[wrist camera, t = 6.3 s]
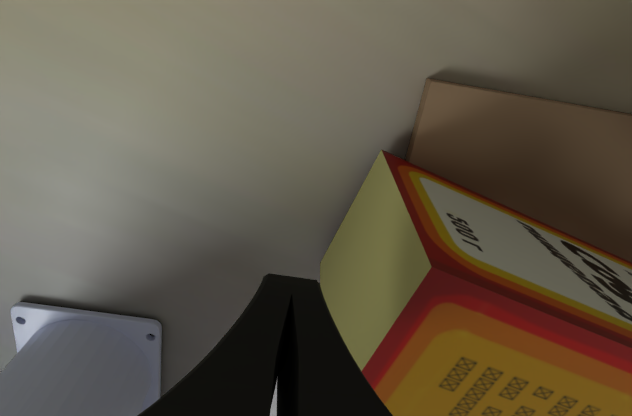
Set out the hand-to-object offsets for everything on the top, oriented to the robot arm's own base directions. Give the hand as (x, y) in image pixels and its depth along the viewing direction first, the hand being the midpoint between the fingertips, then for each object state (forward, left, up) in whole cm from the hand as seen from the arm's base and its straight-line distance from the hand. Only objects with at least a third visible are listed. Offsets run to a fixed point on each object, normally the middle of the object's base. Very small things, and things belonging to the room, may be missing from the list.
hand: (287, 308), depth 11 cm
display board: (0, -12, -10) cm, 16 cm away
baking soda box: (-1, -2, -5) cm, 6 cm away
